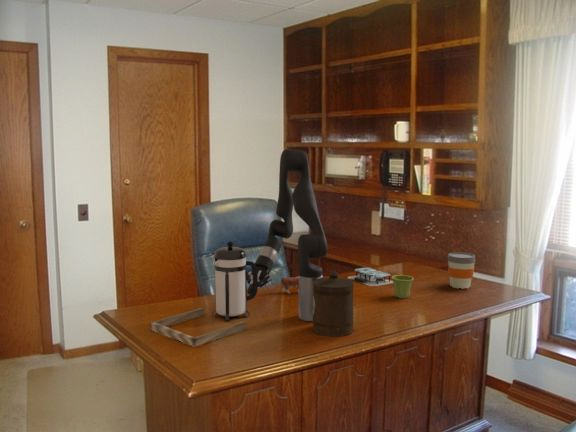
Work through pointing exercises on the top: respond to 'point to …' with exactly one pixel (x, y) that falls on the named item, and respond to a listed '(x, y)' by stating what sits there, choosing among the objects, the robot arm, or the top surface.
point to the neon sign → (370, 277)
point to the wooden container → (333, 306)
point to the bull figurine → (290, 283)
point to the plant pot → (402, 285)
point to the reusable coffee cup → (461, 269)
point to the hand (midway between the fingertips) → (249, 294)
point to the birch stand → (162, 328)
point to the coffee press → (232, 281)
